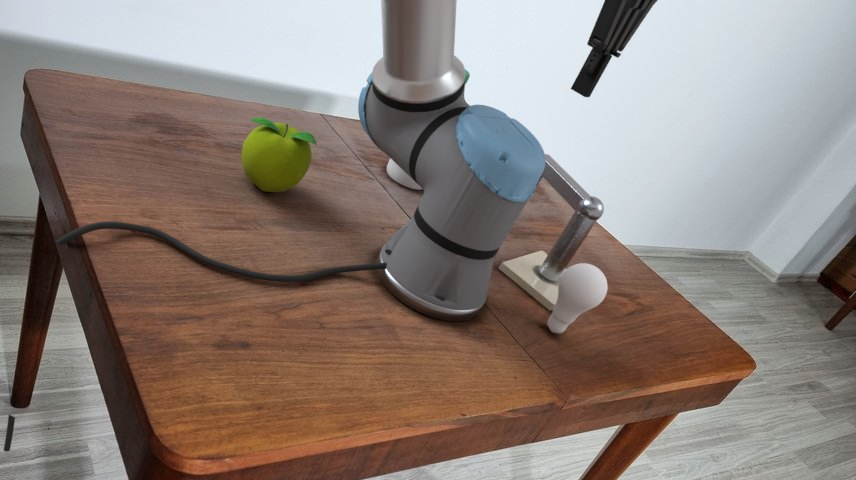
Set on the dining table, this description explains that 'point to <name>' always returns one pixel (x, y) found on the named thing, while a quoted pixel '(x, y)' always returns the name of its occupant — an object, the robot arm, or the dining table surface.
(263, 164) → the fruit
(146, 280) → the dining table surface
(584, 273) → the lightbulb
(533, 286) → the faucet stand
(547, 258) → the spout
